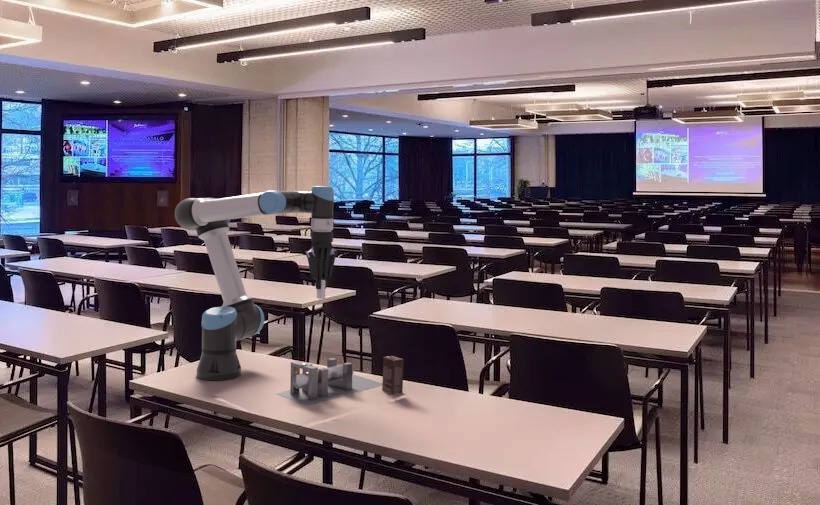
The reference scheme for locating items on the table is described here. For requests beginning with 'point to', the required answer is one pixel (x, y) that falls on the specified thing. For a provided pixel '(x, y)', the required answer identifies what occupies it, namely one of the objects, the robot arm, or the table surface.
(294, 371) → the frame
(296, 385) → the tube
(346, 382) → the grey tube support frame
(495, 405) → the table surface
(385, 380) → the box
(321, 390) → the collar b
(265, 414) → the table surface
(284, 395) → the board
